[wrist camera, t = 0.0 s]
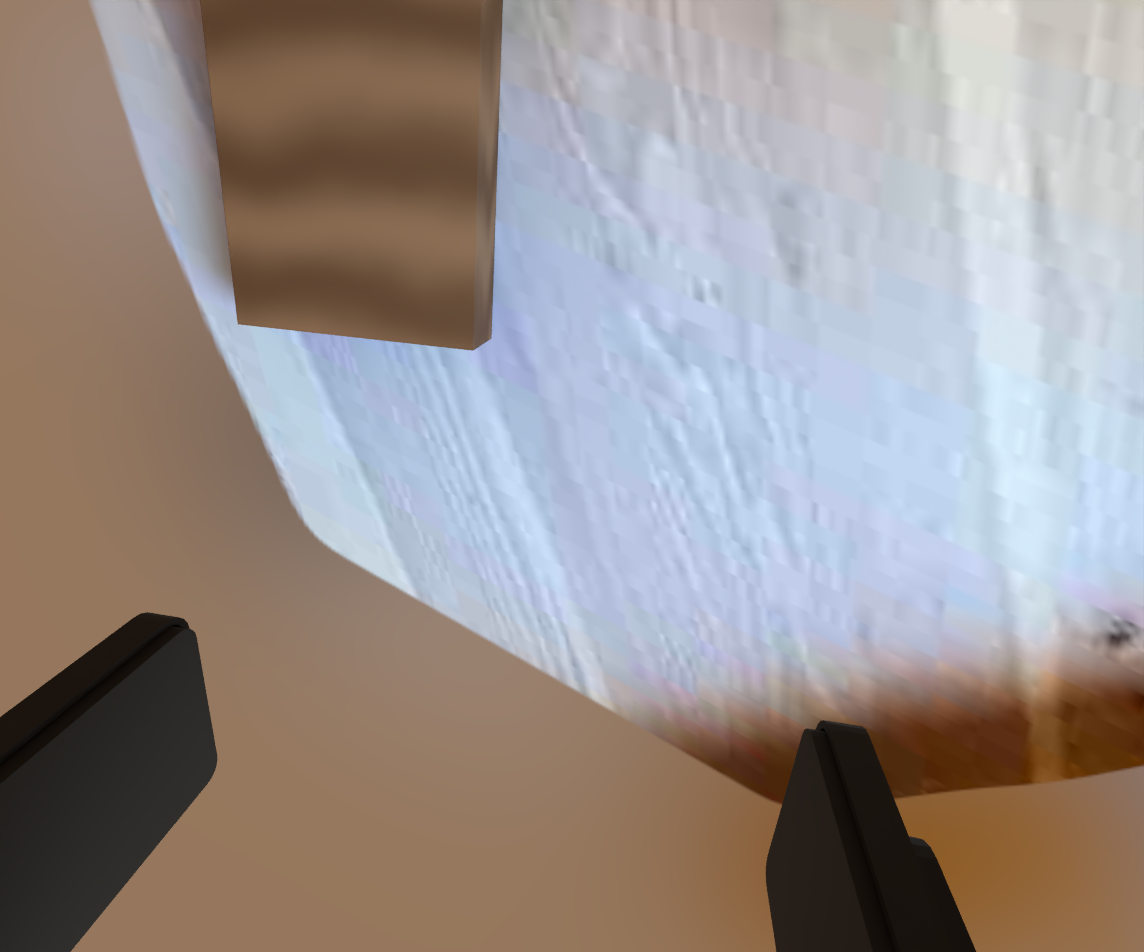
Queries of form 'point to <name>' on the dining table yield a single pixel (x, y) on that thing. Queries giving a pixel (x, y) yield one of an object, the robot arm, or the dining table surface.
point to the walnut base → (359, 163)
